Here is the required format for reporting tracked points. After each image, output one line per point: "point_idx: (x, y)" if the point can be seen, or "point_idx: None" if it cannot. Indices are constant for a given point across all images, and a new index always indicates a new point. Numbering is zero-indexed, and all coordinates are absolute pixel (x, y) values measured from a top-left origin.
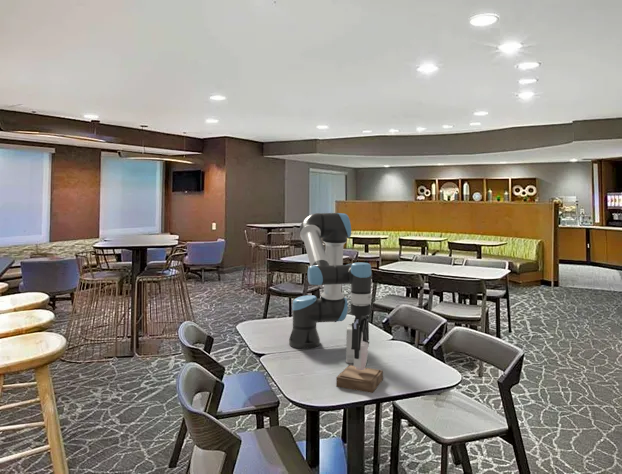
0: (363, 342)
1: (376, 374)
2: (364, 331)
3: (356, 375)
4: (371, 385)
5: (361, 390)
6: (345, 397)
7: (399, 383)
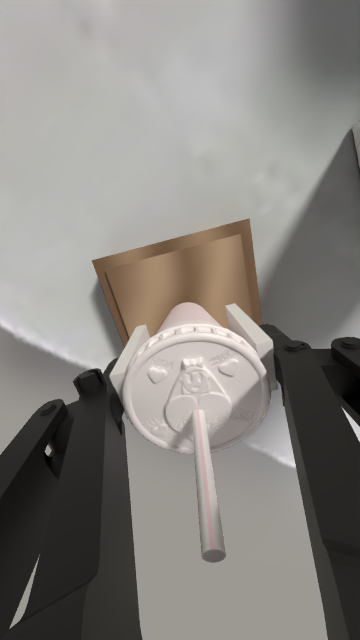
0: (226, 415)
1: None
2: (312, 536)
3: (153, 320)
4: None
5: None
6: (66, 328)
7: None
